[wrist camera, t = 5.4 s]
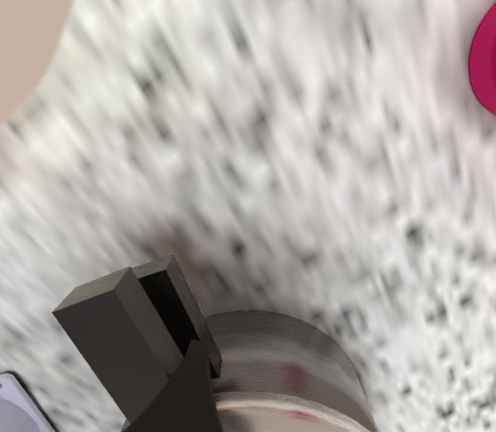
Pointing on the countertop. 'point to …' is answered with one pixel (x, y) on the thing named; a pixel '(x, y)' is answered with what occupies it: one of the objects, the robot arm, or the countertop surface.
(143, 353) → the cooker lid
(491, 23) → the pepper mill
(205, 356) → the robot arm
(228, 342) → the cooker pot
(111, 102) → the countertop surface
